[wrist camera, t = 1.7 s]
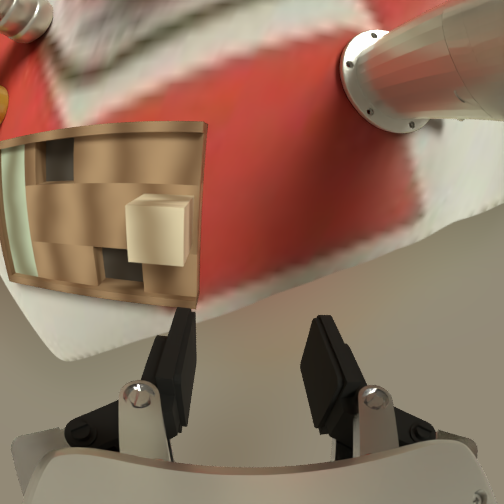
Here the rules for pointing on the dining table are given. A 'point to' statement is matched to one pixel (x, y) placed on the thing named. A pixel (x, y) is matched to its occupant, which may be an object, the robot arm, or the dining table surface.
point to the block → (159, 229)
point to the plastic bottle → (25, 19)
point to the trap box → (98, 207)
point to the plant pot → (3, 102)
